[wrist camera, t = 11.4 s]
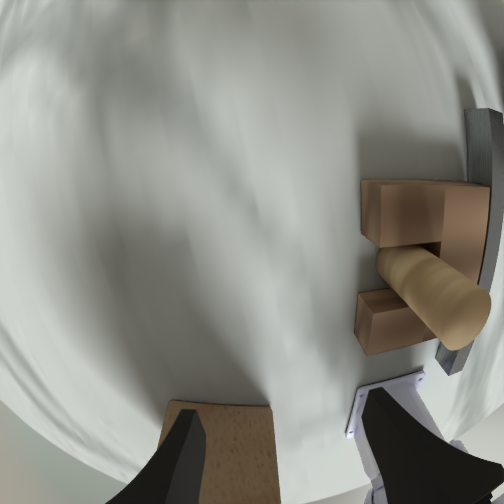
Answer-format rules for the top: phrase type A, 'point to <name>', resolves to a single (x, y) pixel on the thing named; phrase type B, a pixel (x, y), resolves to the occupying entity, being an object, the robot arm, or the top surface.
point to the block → (425, 235)
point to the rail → (500, 202)
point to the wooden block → (234, 452)
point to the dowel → (436, 293)
